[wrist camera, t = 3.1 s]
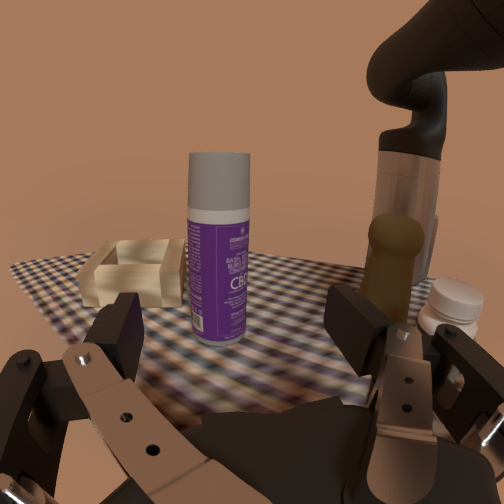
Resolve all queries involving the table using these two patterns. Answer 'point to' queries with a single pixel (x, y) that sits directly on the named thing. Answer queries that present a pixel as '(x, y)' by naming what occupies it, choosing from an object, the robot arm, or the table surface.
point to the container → (218, 245)
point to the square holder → (135, 273)
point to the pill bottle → (451, 310)
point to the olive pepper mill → (392, 264)
